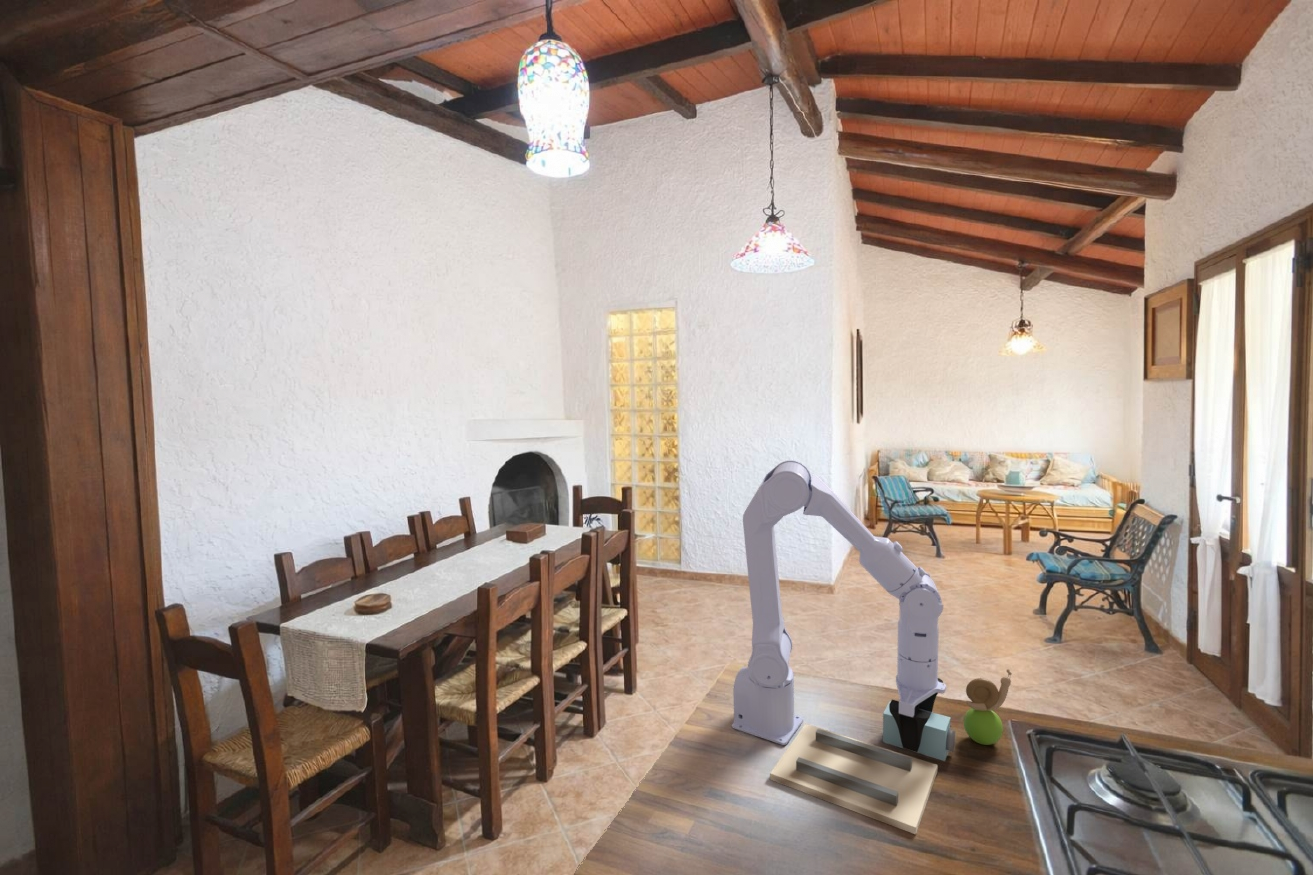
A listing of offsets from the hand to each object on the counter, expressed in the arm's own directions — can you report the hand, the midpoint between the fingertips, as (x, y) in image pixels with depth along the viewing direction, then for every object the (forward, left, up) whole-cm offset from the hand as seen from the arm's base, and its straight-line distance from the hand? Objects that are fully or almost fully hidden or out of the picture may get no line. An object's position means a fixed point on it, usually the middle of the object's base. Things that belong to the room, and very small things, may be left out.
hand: (916, 735), depth 97 cm
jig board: (-6, -12, -1) cm, 13 cm away
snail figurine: (+9, +6, -2) cm, 11 cm away
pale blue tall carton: (0, 0, -2) cm, 2 cm away
